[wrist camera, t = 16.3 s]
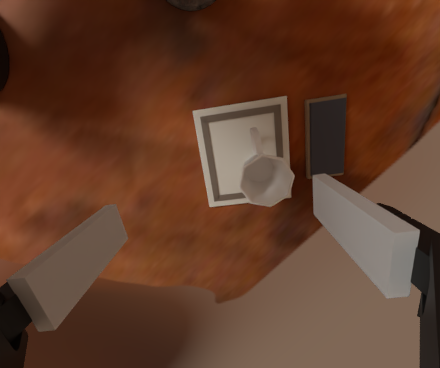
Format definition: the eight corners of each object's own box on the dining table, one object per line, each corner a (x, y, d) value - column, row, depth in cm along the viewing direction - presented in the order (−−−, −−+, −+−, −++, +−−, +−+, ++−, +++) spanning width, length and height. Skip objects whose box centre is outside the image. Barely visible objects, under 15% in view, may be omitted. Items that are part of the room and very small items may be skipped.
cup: (240, 191, 34) (244, 212, 27) (227, 131, 32) (227, 136, 24) (282, 182, 34) (298, 201, 26) (273, 120, 31) (287, 121, 23)
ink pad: (304, 100, 30) (308, 99, 29) (343, 94, 30) (349, 93, 28) (306, 177, 34) (309, 180, 32) (340, 172, 33) (345, 175, 32)
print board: (193, 111, 32) (192, 110, 31) (285, 96, 30) (287, 95, 29) (210, 205, 36) (209, 207, 35) (290, 195, 35) (291, 198, 34)
